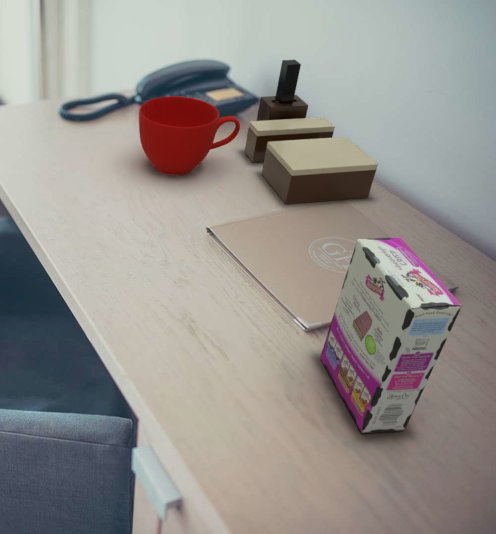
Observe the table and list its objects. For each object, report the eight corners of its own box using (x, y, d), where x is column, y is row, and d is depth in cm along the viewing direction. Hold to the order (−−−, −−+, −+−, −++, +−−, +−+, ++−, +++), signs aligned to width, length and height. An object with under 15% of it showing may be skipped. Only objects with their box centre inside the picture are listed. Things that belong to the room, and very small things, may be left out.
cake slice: (317, 147, 117) (324, 116, 113) (327, 157, 114) (335, 126, 110) (244, 152, 115) (249, 121, 111) (252, 162, 112) (258, 130, 108)
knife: (281, 136, 121) (296, 59, 112) (286, 141, 119) (302, 64, 110) (266, 137, 120) (280, 60, 112) (271, 142, 118) (286, 64, 110)
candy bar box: (408, 431, 64) (466, 306, 55) (361, 435, 64) (411, 309, 54) (359, 354, 73) (402, 234, 64) (317, 356, 73) (354, 236, 63)
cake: (338, 168, 110) (347, 136, 107) (368, 197, 102) (378, 164, 99) (261, 174, 108) (267, 141, 105) (285, 204, 100) (292, 170, 97)
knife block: (288, 132, 122) (296, 94, 118) (299, 144, 118) (308, 105, 114) (253, 134, 121) (260, 96, 116) (263, 146, 117) (271, 107, 112)
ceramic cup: (242, 183, 105) (252, 126, 100) (140, 185, 104) (144, 128, 98) (225, 148, 116) (232, 95, 110) (131, 150, 115) (134, 96, 109)
